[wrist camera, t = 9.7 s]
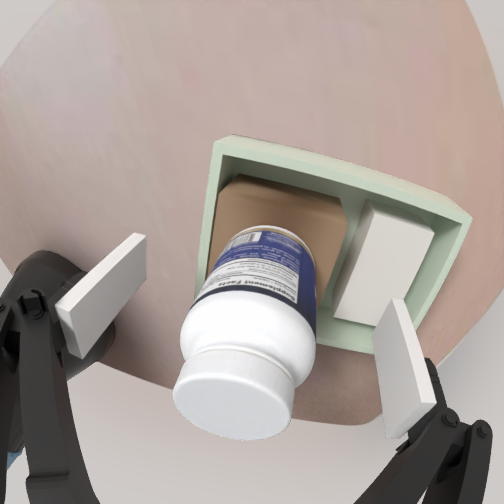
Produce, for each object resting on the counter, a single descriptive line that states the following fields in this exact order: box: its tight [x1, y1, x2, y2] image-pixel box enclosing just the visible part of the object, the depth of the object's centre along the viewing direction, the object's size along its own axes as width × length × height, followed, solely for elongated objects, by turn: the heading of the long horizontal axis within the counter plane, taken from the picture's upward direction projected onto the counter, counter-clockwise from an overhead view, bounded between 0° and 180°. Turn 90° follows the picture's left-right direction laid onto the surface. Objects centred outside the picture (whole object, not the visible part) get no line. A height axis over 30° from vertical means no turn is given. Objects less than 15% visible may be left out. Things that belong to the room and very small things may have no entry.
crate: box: [194, 134, 473, 354], centre depth 20 cm, size 16×12×4 cm
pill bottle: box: [173, 225, 316, 440], centre depth 13 cm, size 5×5×10 cm
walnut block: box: [207, 173, 348, 311], centre depth 19 cm, size 7×7×5 cm
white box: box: [332, 199, 435, 326], centre depth 20 cm, size 4×8×3 cm, turn 169°
